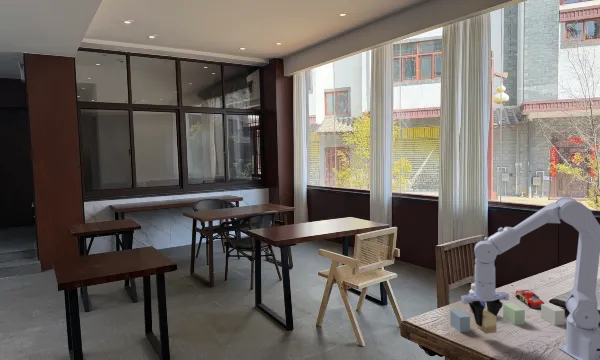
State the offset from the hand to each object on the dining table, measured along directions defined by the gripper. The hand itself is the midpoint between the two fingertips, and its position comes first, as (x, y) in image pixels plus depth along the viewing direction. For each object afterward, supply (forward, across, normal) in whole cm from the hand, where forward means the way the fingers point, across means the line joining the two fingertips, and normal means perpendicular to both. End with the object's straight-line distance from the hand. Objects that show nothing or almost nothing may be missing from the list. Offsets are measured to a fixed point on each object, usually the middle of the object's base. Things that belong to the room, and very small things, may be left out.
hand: (485, 324), depth 121 cm
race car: (+5, -33, -23) cm, 40 cm away
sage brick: (+5, -17, -10) cm, 20 cm away
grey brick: (+5, -29, -7) cm, 30 cm away
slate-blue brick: (+5, +3, -9) cm, 11 cm away
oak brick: (+1, 0, 0) cm, 1 cm away
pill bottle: (+5, -10, -20) cm, 23 cm away
